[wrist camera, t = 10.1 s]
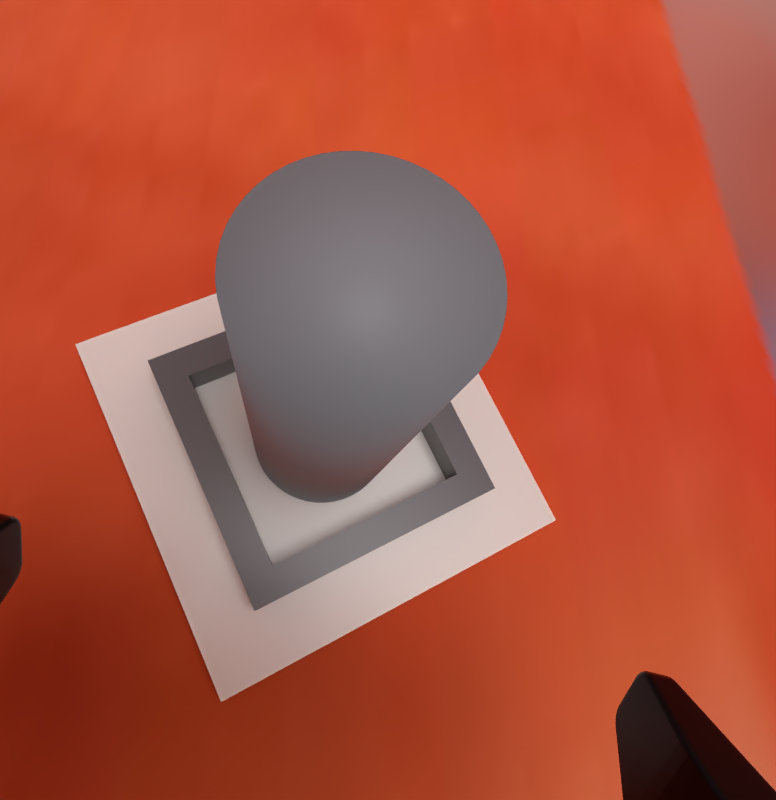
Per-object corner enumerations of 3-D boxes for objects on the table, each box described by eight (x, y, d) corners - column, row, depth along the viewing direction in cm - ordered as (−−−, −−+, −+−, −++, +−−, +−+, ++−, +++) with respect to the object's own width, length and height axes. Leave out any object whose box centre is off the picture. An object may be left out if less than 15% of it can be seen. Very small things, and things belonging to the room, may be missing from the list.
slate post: (339, 529, 21) (411, 480, 9) (225, 452, 21) (149, 303, 9) (412, 419, 22) (555, 254, 11) (305, 347, 23) (328, 103, 11)
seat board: (224, 695, 20) (215, 713, 18) (84, 353, 22) (59, 328, 20) (544, 521, 23) (574, 517, 21) (396, 238, 25) (408, 205, 23)
